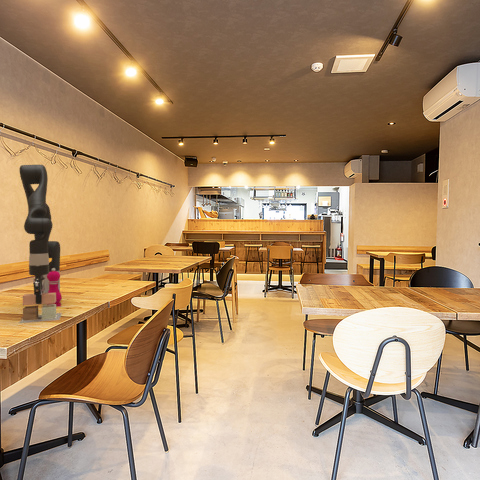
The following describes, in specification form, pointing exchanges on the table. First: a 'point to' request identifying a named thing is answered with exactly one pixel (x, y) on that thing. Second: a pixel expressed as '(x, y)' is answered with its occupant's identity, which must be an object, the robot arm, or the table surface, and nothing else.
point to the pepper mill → (54, 286)
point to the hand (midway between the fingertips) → (39, 302)
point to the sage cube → (48, 311)
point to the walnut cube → (30, 313)
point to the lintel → (46, 298)
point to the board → (42, 319)
